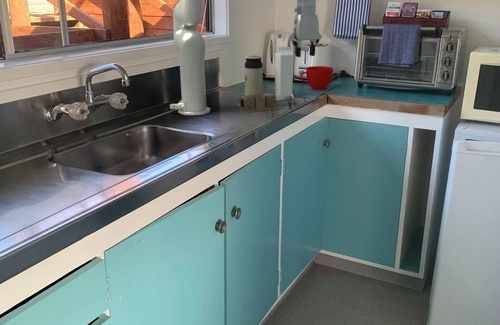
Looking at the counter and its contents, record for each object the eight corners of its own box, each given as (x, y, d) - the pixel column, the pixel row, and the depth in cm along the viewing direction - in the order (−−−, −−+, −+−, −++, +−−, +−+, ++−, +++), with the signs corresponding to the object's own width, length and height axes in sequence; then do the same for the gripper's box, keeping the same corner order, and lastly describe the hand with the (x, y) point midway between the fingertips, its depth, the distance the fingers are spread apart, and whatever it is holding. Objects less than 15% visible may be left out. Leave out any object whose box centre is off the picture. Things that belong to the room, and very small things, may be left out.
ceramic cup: (293, 88, 245) (293, 67, 242) (322, 85, 252) (323, 65, 249) (307, 93, 234) (307, 71, 231) (337, 89, 241) (338, 68, 238)
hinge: (249, 112, 199) (249, 100, 197) (236, 106, 210) (235, 94, 208) (280, 108, 204) (280, 96, 203) (266, 102, 215) (266, 91, 214)
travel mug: (263, 94, 231) (263, 55, 225) (261, 98, 224) (261, 57, 218) (246, 94, 232) (245, 55, 226) (244, 98, 224) (243, 57, 219)
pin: (260, 106, 206) (260, 98, 205) (257, 104, 208) (257, 96, 207) (294, 102, 212) (294, 94, 211) (290, 100, 215) (290, 93, 214)
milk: (274, 95, 229) (274, 46, 222) (286, 94, 231) (287, 45, 224) (280, 98, 224) (280, 47, 217) (292, 97, 226) (293, 47, 219)
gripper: (292, 12, 197) (291, 58, 203) (329, 11, 204) (327, 56, 210) (283, 11, 203) (282, 56, 209) (319, 10, 210) (317, 54, 216)
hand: (305, 55), depth 209 cm, fingers open, 6 cm apart
